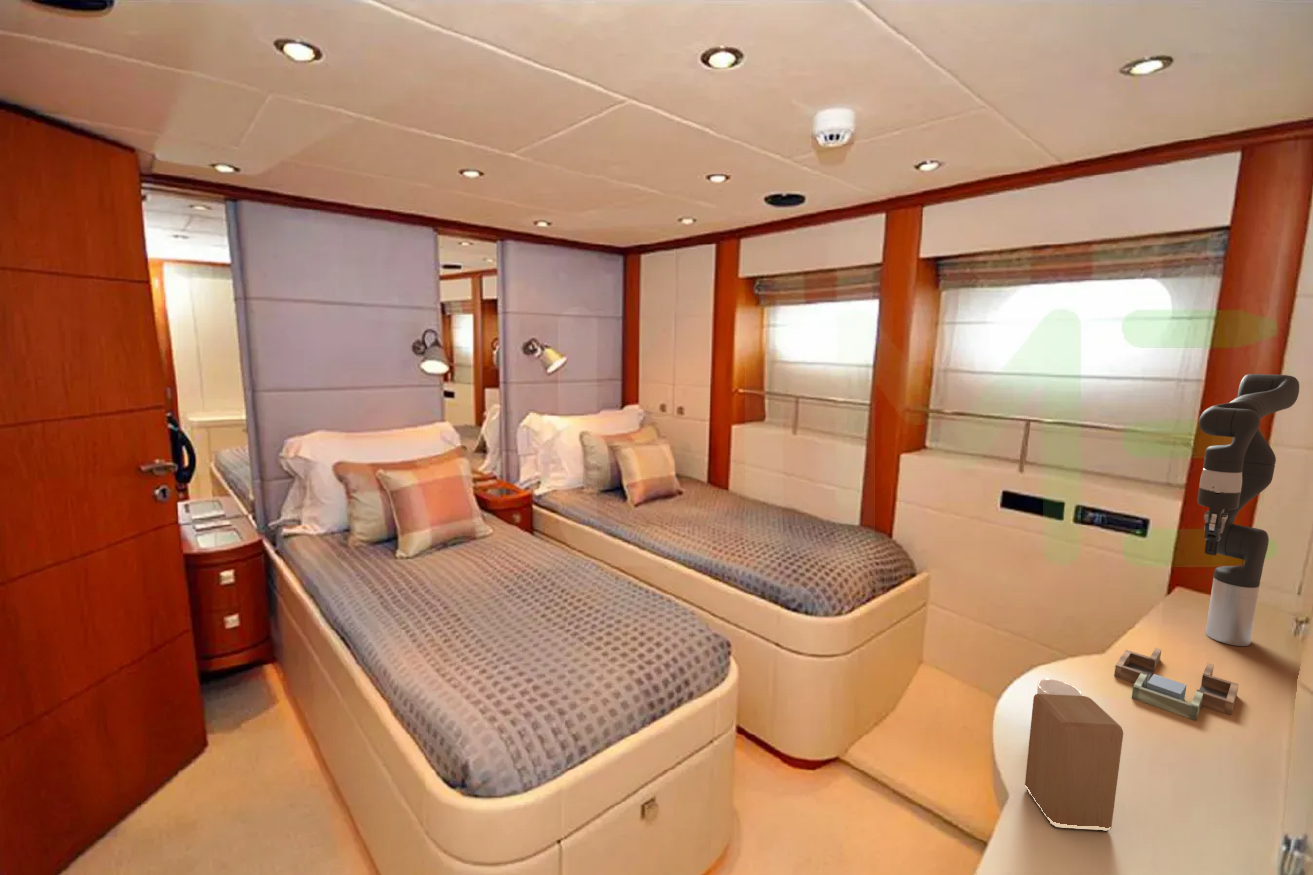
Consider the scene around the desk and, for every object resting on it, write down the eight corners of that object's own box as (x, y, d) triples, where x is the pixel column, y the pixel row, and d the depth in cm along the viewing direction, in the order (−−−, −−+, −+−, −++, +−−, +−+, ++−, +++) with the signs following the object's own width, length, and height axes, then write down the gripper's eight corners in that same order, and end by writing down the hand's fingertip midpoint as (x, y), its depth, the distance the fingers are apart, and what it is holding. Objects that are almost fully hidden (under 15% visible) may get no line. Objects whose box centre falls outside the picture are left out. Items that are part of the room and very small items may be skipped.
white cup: (1070, 724, 129) (1074, 682, 128) (1082, 746, 122) (1087, 703, 121) (1029, 717, 132) (1033, 676, 130) (1039, 738, 125) (1043, 695, 123)
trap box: (1130, 650, 160) (1132, 640, 160) (1239, 683, 144) (1241, 672, 144) (1105, 688, 143) (1107, 677, 142) (1226, 731, 127) (1228, 718, 126)
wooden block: (1077, 791, 110) (1089, 693, 107) (1113, 834, 100) (1127, 728, 97) (1022, 787, 111) (1031, 690, 108) (1051, 830, 101) (1063, 725, 98)
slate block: (1152, 688, 143) (1154, 673, 142) (1184, 700, 138) (1186, 684, 138) (1145, 697, 139) (1147, 682, 139) (1178, 709, 135) (1180, 694, 134)
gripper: (1203, 480, 152) (1194, 544, 155) (1195, 489, 144) (1186, 556, 147) (1243, 485, 147) (1234, 551, 150) (1238, 495, 138) (1228, 564, 141)
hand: (1210, 553), depth 148 cm, fingers closed
